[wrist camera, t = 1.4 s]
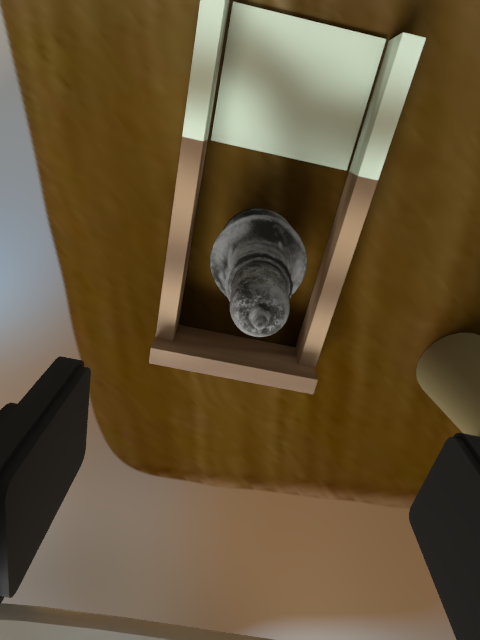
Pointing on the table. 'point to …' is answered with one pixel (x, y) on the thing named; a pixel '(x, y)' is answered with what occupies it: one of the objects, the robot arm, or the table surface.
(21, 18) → the table surface
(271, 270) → the grey chess piece
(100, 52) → the table surface
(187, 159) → the bay
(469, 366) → the cork
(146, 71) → the table surface
